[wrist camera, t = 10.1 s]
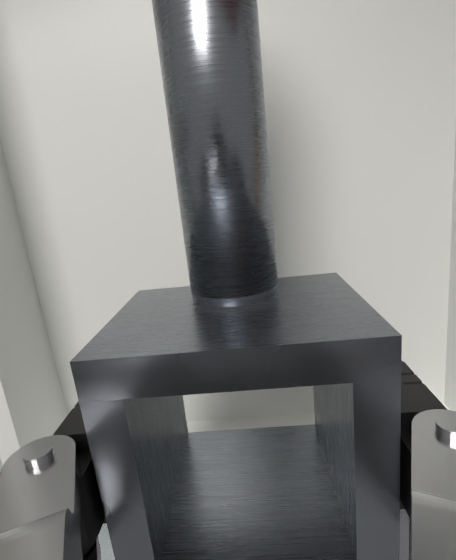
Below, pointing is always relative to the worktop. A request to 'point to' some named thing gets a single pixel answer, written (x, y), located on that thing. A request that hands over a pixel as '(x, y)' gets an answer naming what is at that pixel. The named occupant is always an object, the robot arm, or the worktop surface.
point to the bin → (164, 197)
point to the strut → (239, 349)
